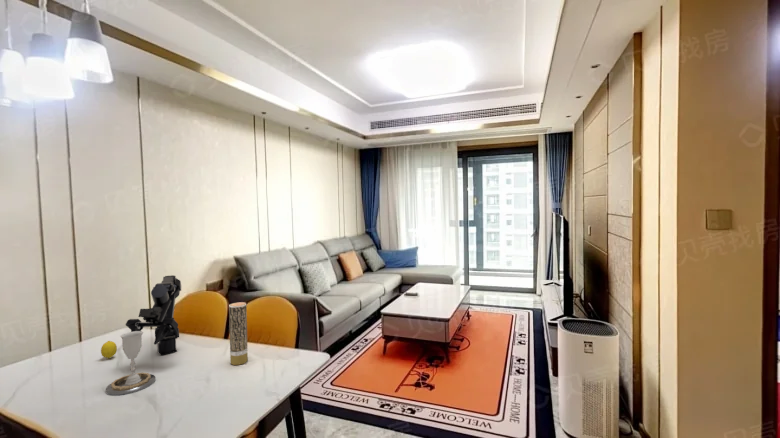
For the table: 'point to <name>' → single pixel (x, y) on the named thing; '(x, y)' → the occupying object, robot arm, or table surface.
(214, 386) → the table surface
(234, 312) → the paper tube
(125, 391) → the collar
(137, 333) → the chalice
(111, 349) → the lemon
